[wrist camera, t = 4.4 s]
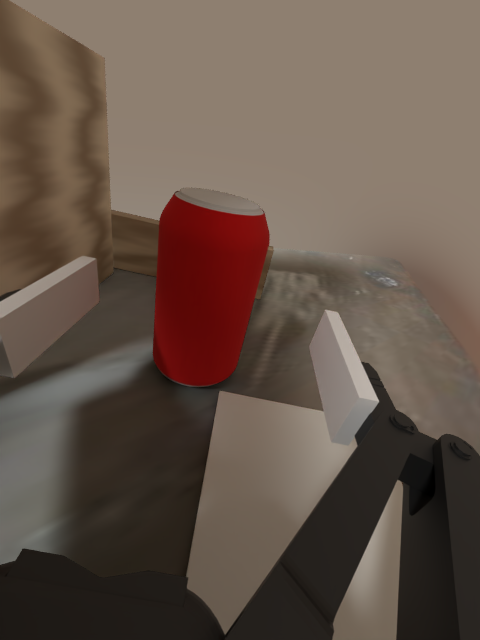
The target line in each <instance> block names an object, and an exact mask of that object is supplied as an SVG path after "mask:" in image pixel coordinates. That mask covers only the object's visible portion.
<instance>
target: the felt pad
mask: <svg viewBox="0 0 480 640" xmlns="http://www.w3.org/2000/svg"><path fill="white" fill-rule="evenodd" d="M356 447H357V442H356V439H355V437H354V439H353V440H352V441H351V443H350V444H349V446H347V445H342V444H337V443H332V442H331V440H330V436H329V432H328V427H327V423H326V419H325V414H324V411H319V410H314V409H309V408H304V407H299V406H294V405H289V404H284V403H279V402H274V401H269V400H264V399H259V398H254V397H249V396H244V395H239V394H234V393H229V392H224V391H220V392H219V396H218V401H217V407H216V412H215V418H214V423H213V429H212V435H211V440H210V446H209V451H208V457H207V462H206V468H205V473H204V479H203V484H202V490H201V496H200V501H199V507H198V512H197V518H196V523H195V529H194V534H193V540H192V545H191V551H190V556H189V562H188V568H187V573H186V577H188V583H187V589H189V590H190V591H192V592H194V593H195V594H196V595H197V596H199V597H200V598H201V599H202V600H203V601H204V602H205V603H206V604H207V605H208V607H209V608H210V609H211V610H212V612H213V613H214V615H215V616H216V618H217V619H218V621H219V623H220V625H221V627H222V629H223V631H224V634H226V633H227V631H228V630H229V629H230V627H231V626H232V624H233V623H234V621H235V620H236V619H237V617H238V616H239V614H240V613H241V611H242V610H243V609H244V607H245V606H246V604H247V603H248V602H249V600H250V599H251V597H252V596H253V595H254V593H255V592H256V590H257V589H258V588H259V586H260V585H261V583H262V582H263V580H264V579H265V578H266V576H267V575H268V573H269V572H270V570H271V569H272V568H273V566H274V565H275V563H276V562H277V560H278V559H279V558H280V556H281V555H282V553H283V552H284V550H285V549H286V547H287V546H288V545H289V543H290V542H291V540H292V539H293V537H294V536H295V535H296V533H297V532H298V530H299V529H300V527H301V526H302V525H303V523H304V522H305V520H306V519H307V517H308V516H309V515H310V513H311V512H312V510H313V509H314V507H315V506H316V505H317V503H318V502H319V500H320V499H321V497H322V496H323V495H324V493H325V492H326V490H327V489H328V487H329V486H330V485H331V483H332V482H333V480H334V479H335V477H336V476H337V475H338V473H339V472H340V470H341V469H342V467H343V466H344V465H345V463H346V462H347V460H348V458H349V457H350V456H351V454H352V453H353V452H354V450H355V449H356ZM402 501H403V485H402V483H401V481H399V480H397V482H396V484H395V487H394V489H393V491H392V493H391V495H390V498H389V500H388V502H387V504H386V506H385V509H384V511H383V513H382V515H381V517H380V519H379V522H378V524H377V526H376V528H375V530H374V533H373V535H372V537H371V539H370V541H369V544H368V546H367V548H366V550H365V552H364V554H363V557H362V559H361V561H360V563H359V565H358V568H357V570H356V572H355V574H354V576H353V579H352V581H351V583H350V585H349V587H348V589H347V592H346V594H345V596H344V598H343V600H342V603H341V605H340V607H339V609H338V611H337V614H336V616H335V619H334V622H333V627H334V634H333V638H332V640H396V634H397V611H398V589H399V567H400V545H401V523H402Z"/></svg>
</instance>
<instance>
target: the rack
mask: <svg viewBox="0 0 480 640" xmlns="http://www.w3.org/2000/svg"><path fill="white" fill-rule="evenodd" d="M107 128H108V127H107V103H106V80H105V58H104V57H102V56H100V55H99V54H97V53H95V52H94V51H92V50H90V49H89V48H87V47H85V46H84V45H82V44H81V43H78V42H77V41H76V40H74V39H72V38H70V37H69V36H67V35H66V34H64V33H62V32H61V31H59V30H57V29H55V28H54V27H52V26H51V25H49V24H47V23H46V22H44V21H42V20H41V19H39V18H37V17H36V16H34V15H32V14H31V13H29V12H28V11H26V10H24V9H22V8H21V7H19V6H17V5H16V4H14V3H13V2H11V1H9V0H0V296H1V295H3V294H5V293H8V292H11V291H15V290H18V289H24V288H26V287H27V286H29V285H31V284H33V283H34V282H36V281H38V280H40V279H42V278H43V277H45V276H47V275H49V274H51V273H52V272H54V271H56V270H58V269H59V268H61V267H63V266H65V265H67V264H68V263H70V262H72V261H74V260H76V259H77V258H79V257H81V256H87V257H92V258H96V259H97V272H98V285H99V284H100V283H101V282H103V281H104V280H105V279H106V278H108V277H109V276H110V275H111V274H113V273H114V270H113V268H118V269H122V270H127V271H132V272H136V273H141V274H145V275H150V276H154V277H157V256H158V236H159V221H158V220H154V219H150V218H145V217H141V216H137V215H132V214H127V213H123V212H119V211H115V210H111V199H110V177H109V176H110V175H109V153H108V152H109V151H108V129H107ZM273 251H274V250H273V247H272V246H269V247H268V251H267V254H266V258H265V262H264V266H263V269H262V273H261V277H260V281H259V284H258V288H257V292H256V296H255V299H260V298H261V294H262V291H263V287H264V284H265V280H266V276H267V273H268V269H269V266H270V262H271V258H272V255H273Z"/></svg>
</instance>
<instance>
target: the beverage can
mask: <svg viewBox="0 0 480 640" xmlns="http://www.w3.org/2000/svg"><path fill="white" fill-rule="evenodd" d="M268 247H269V230H268V226H267V221H266V217H265V213H264V211H263V210H262V209H261V208H260V206H259V205H258V204H256V203H255V202H253V201H250V200H248V199H245V198H242V197H239V196H235V195H232V194H228V193H223V192H219V191H214V190H208V189H201V188H182V189H180V191H177V192H175V193H174V195H173V197H172V198H171V199H170V201H169V202H168V204H167V205H166V207H165V208H164V210H163V212H162V214H161V217H160V221H159V236H158V256H157V277H156V298H155V319H154V339H153V358H154V361H155V364H156V366H157V368H158V369H159V371H160V372H161V373H162V374H163V375H164V376H165V377H167V378H168V379H170V380H172V381H174V382H176V383H178V384H181V385H185V386H191V387H205V386H210V385H214V384H217V383H219V382H221V381H223V380H225V379H226V378H228V377H229V376H230V375H231V374H232V373H233V372H234V370H235V369H236V366H237V363H238V360H239V356H240V352H241V348H242V345H243V341H244V337H245V333H246V330H247V326H248V322H249V318H250V315H251V311H252V307H253V303H254V300H255V296H256V292H257V288H258V284H259V281H260V277H261V273H262V269H263V266H264V262H265V258H266V254H267V251H268Z"/></svg>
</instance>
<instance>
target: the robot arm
mask: <svg viewBox="0 0 480 640" xmlns="http://www.w3.org/2000/svg"><path fill="white" fill-rule="evenodd" d="M99 302H100V299H99V285H98V272H97V259H96V258H92V257H87V256H81V257H79V258H77V259H76V260H74V261H72V262H70V263H68V264H67V265H65V266H63V267H61V268H59V269H58V270H56V271H54V272H52V273H51V274H49V275H47V276H45V277H43V278H42V279H40V280H38V281H36V282H34V283H33V284H31V285H29V286H27V287H26V288H24V289H18V290H15V291H11V292H8V293H5V294H3V295H1V296H0V376H5V377H10V378H15V377H16V376H18V375H19V374H20V373H21V372H22V371H23V370H24V369H25V368H26V367H28V366H29V365H30V364H31V363H32V362H33V361H34V360H35V359H36V358H38V357H39V356H40V355H41V354H42V353H43V352H44V351H45V350H46V349H48V348H49V347H50V346H51V345H52V344H53V343H54V342H55V341H56V340H58V339H59V338H60V337H61V336H62V335H63V334H64V333H65V332H66V331H68V330H69V329H70V328H71V327H72V326H73V325H74V324H75V323H77V322H78V321H79V320H80V319H81V318H82V317H83V316H84V315H85V314H87V313H88V312H89V311H90V310H91V309H92V308H93V307H94V306H95V305H97V304H98V303H99ZM309 349H310V353H311V358H312V362H313V366H314V371H315V375H316V379H317V384H318V388H319V393H320V397H321V401H322V406H323V410H324V414H325V419H326V423H327V427H328V432H329V436H330V440H331V442H332V443H337V444H342V445H347V446H349V444H350V443H351V441H352V440H353V439H354V437H355V439H356V442H357V447H356V449H355V450H354V452H353V453H352V454H351V456H350V457H349V458H348V460H347V462H346V463H345V465H344V466H343V467H342V469H341V470H340V472H339V473H338V475H337V476H336V477H335V479H334V480H333V482H332V483H331V485H330V486H329V487H328V489H327V490H326V492H325V493H324V495H323V496H322V497H321V499H320V500H319V502H318V503H317V505H316V506H315V507H314V509H313V510H312V512H311V513H310V515H309V516H308V517H307V519H306V520H305V522H304V523H303V525H302V526H301V527H300V529H299V530H298V532H297V533H296V535H295V536H294V537H293V539H292V540H291V542H290V543H289V545H288V546H287V547H286V549H285V550H284V552H283V553H282V555H281V556H280V558H279V559H278V560H277V562H276V563H275V565H274V566H273V568H272V569H271V570H270V572H269V573H268V575H267V576H266V578H265V579H264V580H263V582H262V583H261V585H260V586H259V588H258V589H257V590H256V592H255V593H254V595H253V596H252V597H251V599H250V600H249V602H248V603H247V604H246V606H245V607H244V609H243V610H242V611H241V613H240V614H239V616H238V617H237V619H236V620H235V621H234V623H233V624H232V626H231V627H230V629H229V630H228V631H227V633H226V634H224V631H223V629H222V627H221V625H220V623H219V621H218V619H217V618H216V616H215V615H214V613H213V612H212V610H211V609H210V608H209V607H208V605H207V604H206V603H205V602H204V601H203V600H202V599H201V598H200V597H199V596H197V595H196V594H195V593H194V592H192V591H190V590H189V589H187V583H188V577H182V576H177V575H171V574H165V573H160V572H154V571H143V572H137V573H131V574H124V575H118V576H112V577H105V578H102V577H99V576H97V575H95V574H93V573H92V572H90V571H88V570H87V569H85V568H84V567H82V566H80V565H79V564H77V563H75V562H74V561H72V560H70V559H69V558H67V557H66V556H63V555H57V554H52V553H46V552H40V551H35V550H29V549H22V551H21V553H20V554H19V556H18V557H17V559H16V561H13V562H9V563H5V564H2V565H0V640H332V638H333V634H334V627H333V622H334V619H335V616H336V614H337V611H338V609H339V607H340V605H341V603H342V600H343V598H344V596H345V594H346V592H347V589H348V587H349V585H350V583H351V581H352V579H353V576H354V574H355V572H356V570H357V568H358V565H359V563H360V561H361V559H362V557H363V554H364V552H365V550H366V548H367V546H368V544H369V541H370V539H371V537H372V535H373V533H374V530H375V528H376V526H377V524H378V522H379V519H380V517H381V515H382V513H383V511H384V509H385V506H386V504H387V502H388V500H389V498H390V495H391V493H392V491H393V489H394V487H395V484H396V482H397V480H399V481H401V482H403V501H402V523H401V545H400V567H399V589H398V611H397V634H396V640H480V456H479V454H478V453H477V452H476V451H475V450H474V448H473V447H472V446H471V445H469V444H468V443H467V442H466V441H464V440H462V439H461V438H459V437H457V436H454V435H451V434H444V435H442V436H441V437H440V438H439V439H438V440H436V439H434V438H431V437H429V436H427V435H425V434H423V433H420V432H419V431H418V429H417V427H416V425H415V424H414V423H413V421H412V420H411V419H410V418H409V417H407V416H406V415H405V414H403V413H401V412H399V411H397V410H396V409H395V407H394V405H393V403H392V401H391V399H390V397H389V395H388V393H387V391H386V389H385V388H384V385H383V383H382V381H380V378H379V376H378V374H377V372H376V371H375V370H374V368H373V367H372V366H371V365H370V364H369V363H364V362H361V361H360V359H359V357H358V355H357V352H356V350H355V348H354V346H353V344H352V342H351V340H350V337H349V335H348V333H347V331H346V329H345V327H344V324H343V322H342V320H341V318H340V316H339V314H338V312H334V311H330V310H325V311H324V313H323V316H322V318H321V320H320V323H319V325H318V327H317V329H316V332H315V334H314V336H313V339H312V341H311V343H310V346H309Z"/></svg>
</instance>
